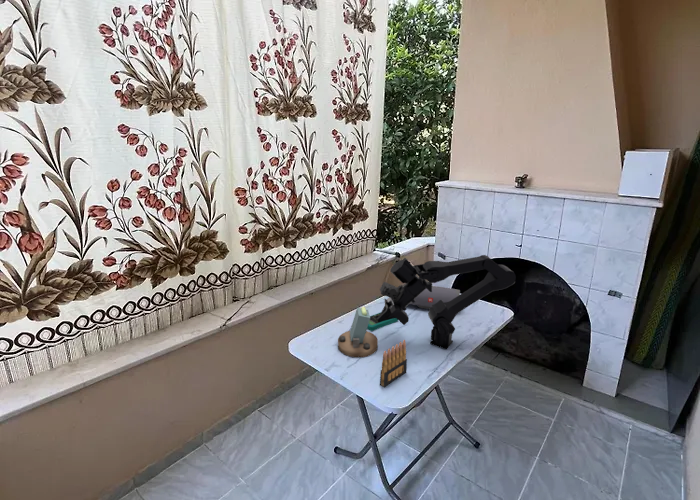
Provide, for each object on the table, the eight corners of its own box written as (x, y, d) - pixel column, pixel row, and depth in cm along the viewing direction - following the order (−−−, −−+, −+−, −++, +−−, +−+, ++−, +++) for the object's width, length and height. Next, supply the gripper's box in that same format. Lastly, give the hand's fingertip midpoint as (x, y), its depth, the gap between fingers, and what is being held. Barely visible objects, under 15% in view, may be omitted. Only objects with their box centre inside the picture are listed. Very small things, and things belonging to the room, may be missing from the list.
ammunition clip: (402, 370, 121) (403, 337, 117) (406, 373, 119) (408, 339, 116) (379, 385, 114) (380, 350, 110) (384, 388, 112) (385, 353, 109)
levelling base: (374, 335, 141) (375, 322, 139) (380, 356, 128) (380, 342, 126) (337, 336, 140) (337, 323, 138) (339, 358, 127) (339, 344, 125)
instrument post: (360, 334, 136) (369, 306, 133) (362, 343, 130) (371, 314, 127) (349, 332, 135) (358, 304, 132) (351, 341, 130) (359, 312, 126)
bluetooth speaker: (402, 308, 162) (403, 287, 159) (405, 299, 170) (407, 279, 167) (457, 316, 155) (459, 294, 152) (458, 306, 164) (460, 285, 161)
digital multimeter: (399, 321, 152) (399, 315, 151) (370, 333, 143) (371, 326, 143) (387, 314, 157) (387, 308, 157) (359, 325, 149) (359, 318, 148)
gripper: (389, 266, 135) (358, 295, 138) (400, 287, 118) (364, 319, 120) (410, 285, 138) (379, 314, 141) (423, 309, 121) (388, 340, 123)
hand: (377, 321), depth 131 cm, fingers closed
